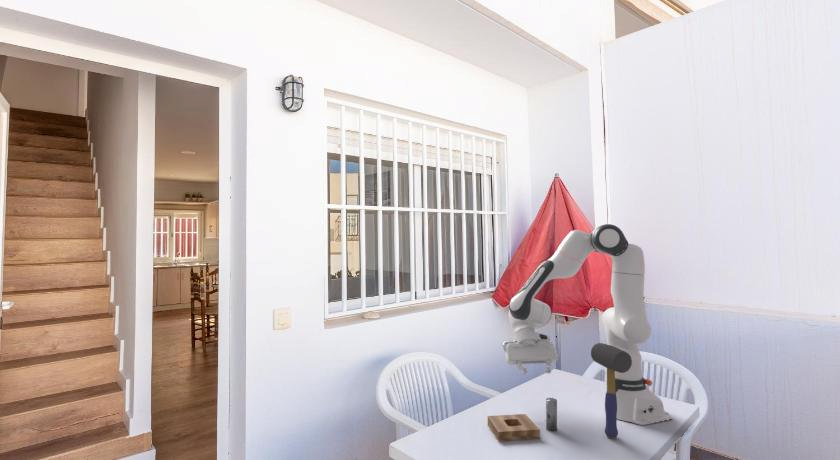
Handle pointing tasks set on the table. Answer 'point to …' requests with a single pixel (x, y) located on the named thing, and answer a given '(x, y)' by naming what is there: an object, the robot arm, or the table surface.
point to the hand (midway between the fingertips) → (536, 373)
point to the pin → (551, 414)
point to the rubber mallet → (611, 379)
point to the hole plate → (513, 427)
